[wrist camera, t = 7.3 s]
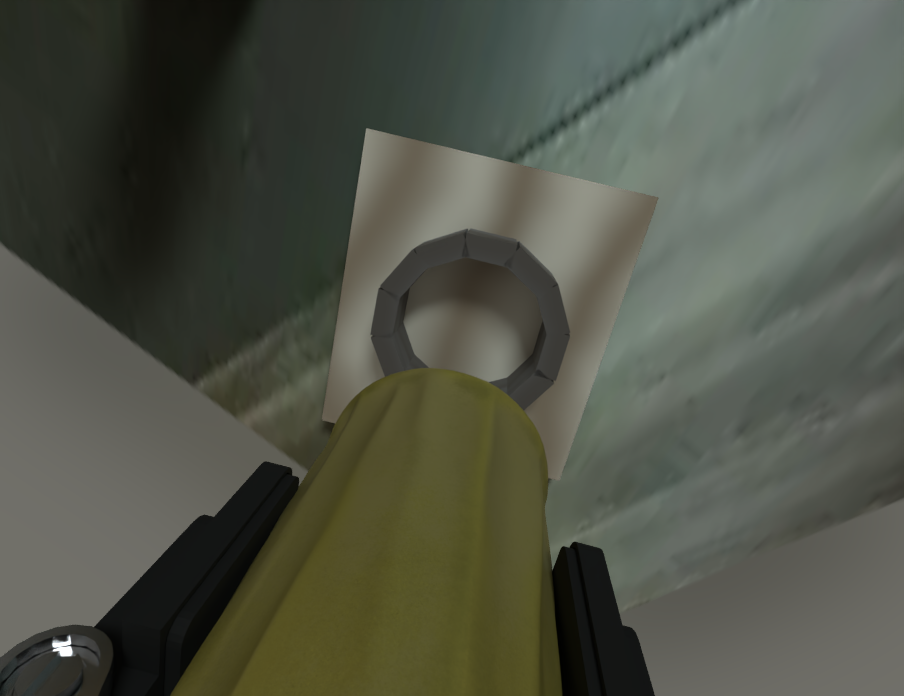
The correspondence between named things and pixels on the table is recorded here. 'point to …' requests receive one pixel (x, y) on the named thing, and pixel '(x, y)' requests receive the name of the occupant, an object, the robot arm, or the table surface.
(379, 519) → the vase
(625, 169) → the table surface
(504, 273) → the plate
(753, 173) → the table surface
